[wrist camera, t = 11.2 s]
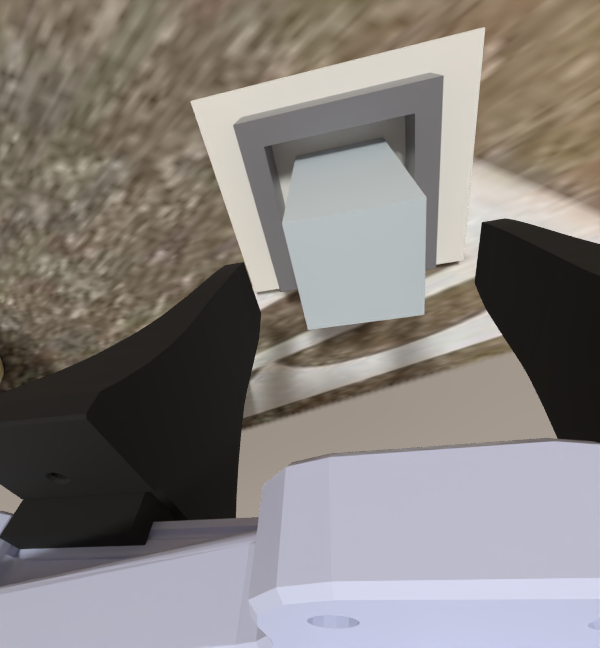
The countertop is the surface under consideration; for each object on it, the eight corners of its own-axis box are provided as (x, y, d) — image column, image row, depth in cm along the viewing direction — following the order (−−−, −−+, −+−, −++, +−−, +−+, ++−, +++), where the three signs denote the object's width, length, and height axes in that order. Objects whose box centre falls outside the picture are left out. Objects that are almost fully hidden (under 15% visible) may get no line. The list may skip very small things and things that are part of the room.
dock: (480, 27, 14) (507, 24, 12) (460, 256, 20) (476, 279, 18) (193, 99, 15) (175, 107, 13) (256, 287, 21) (250, 312, 20)
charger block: (383, 137, 16) (426, 197, 9) (387, 221, 18) (424, 314, 12) (295, 155, 16) (282, 223, 10) (311, 235, 19) (308, 329, 12)
